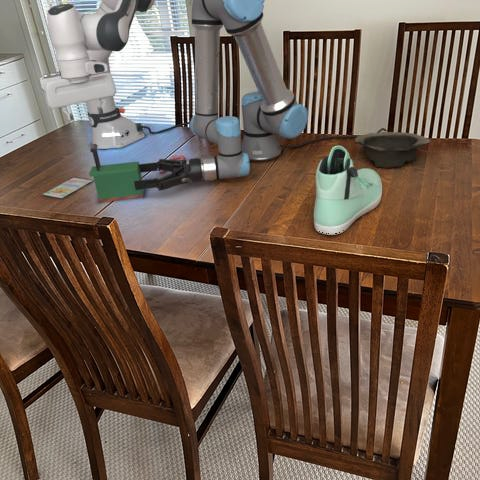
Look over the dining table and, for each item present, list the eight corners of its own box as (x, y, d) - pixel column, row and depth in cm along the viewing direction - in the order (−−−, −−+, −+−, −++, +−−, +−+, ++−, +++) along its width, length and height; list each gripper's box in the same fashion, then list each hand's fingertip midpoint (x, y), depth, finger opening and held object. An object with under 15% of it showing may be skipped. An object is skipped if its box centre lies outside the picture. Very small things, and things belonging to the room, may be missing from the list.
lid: (90, 176, 149) (83, 149, 145) (92, 169, 154) (86, 143, 150) (138, 171, 150) (132, 144, 146) (139, 164, 155) (134, 138, 151)
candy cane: (149, 171, 173) (148, 167, 172) (176, 156, 183) (176, 153, 182) (161, 174, 170) (160, 170, 169) (188, 159, 180) (188, 155, 179)
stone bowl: (388, 178, 153) (388, 150, 149) (339, 160, 173) (338, 135, 169) (444, 159, 162) (447, 132, 158) (392, 144, 182) (392, 120, 178)
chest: (99, 202, 154) (93, 176, 149) (102, 194, 159) (95, 169, 154) (143, 197, 155) (138, 171, 150) (144, 189, 160) (139, 164, 155)
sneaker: (389, 187, 148) (396, 123, 138) (356, 242, 123) (361, 168, 112) (346, 181, 154) (350, 119, 144) (306, 232, 129) (307, 161, 118)
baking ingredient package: (42, 193, 161) (73, 176, 172) (42, 194, 161) (73, 178, 173) (61, 197, 157) (92, 180, 169) (62, 198, 158) (92, 181, 169)
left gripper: (40, 77, 129) (54, 127, 136) (112, 64, 138) (122, 111, 145) (35, 73, 133) (48, 122, 141) (105, 61, 142) (114, 107, 150)
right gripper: (205, 196, 147) (135, 204, 145) (201, 165, 168) (140, 172, 166) (202, 173, 143) (131, 181, 141) (198, 145, 164) (136, 152, 163)
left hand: (86, 116), depth 143 cm, fingers open, 8 cm apart
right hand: (136, 176), depth 154 cm, fingers open, 13 cm apart
